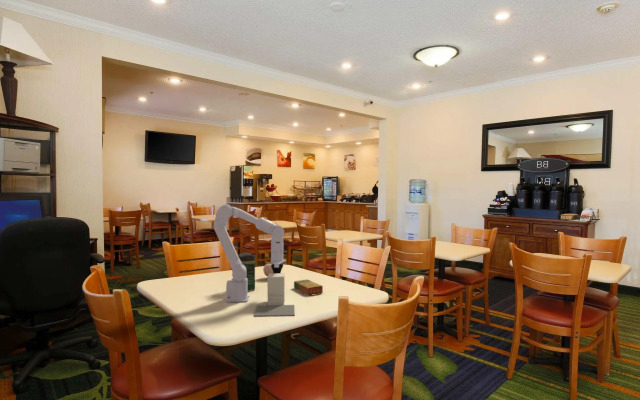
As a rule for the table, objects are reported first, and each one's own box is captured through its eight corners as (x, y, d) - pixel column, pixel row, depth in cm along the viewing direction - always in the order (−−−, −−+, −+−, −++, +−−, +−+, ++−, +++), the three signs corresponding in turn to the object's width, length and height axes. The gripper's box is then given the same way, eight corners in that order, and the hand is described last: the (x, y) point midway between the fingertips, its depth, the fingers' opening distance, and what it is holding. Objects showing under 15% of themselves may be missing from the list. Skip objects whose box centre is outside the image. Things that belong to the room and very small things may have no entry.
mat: (254, 316, 143) (254, 315, 143) (257, 306, 156) (257, 305, 156) (294, 315, 144) (294, 314, 144) (294, 305, 157) (294, 304, 157)
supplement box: (285, 300, 165) (285, 273, 165) (284, 305, 157) (284, 276, 157) (268, 300, 164) (269, 272, 164) (267, 305, 157) (267, 276, 157)
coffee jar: (257, 290, 181) (257, 253, 181) (241, 292, 177) (241, 254, 177) (251, 286, 190) (251, 251, 189) (236, 288, 186) (236, 252, 186)
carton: (307, 296, 173) (307, 287, 173) (293, 288, 187) (293, 280, 187) (322, 294, 177) (322, 285, 177) (307, 286, 191) (307, 278, 191)
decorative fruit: (260, 279, 205) (260, 261, 205) (267, 276, 213) (267, 259, 213) (274, 281, 202) (274, 263, 202) (281, 277, 209) (281, 260, 209)
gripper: (285, 253, 162) (285, 283, 162) (286, 248, 176) (285, 276, 176) (269, 253, 161) (269, 283, 161) (271, 248, 176) (271, 276, 176)
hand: (277, 279), depth 169 cm, fingers closed
